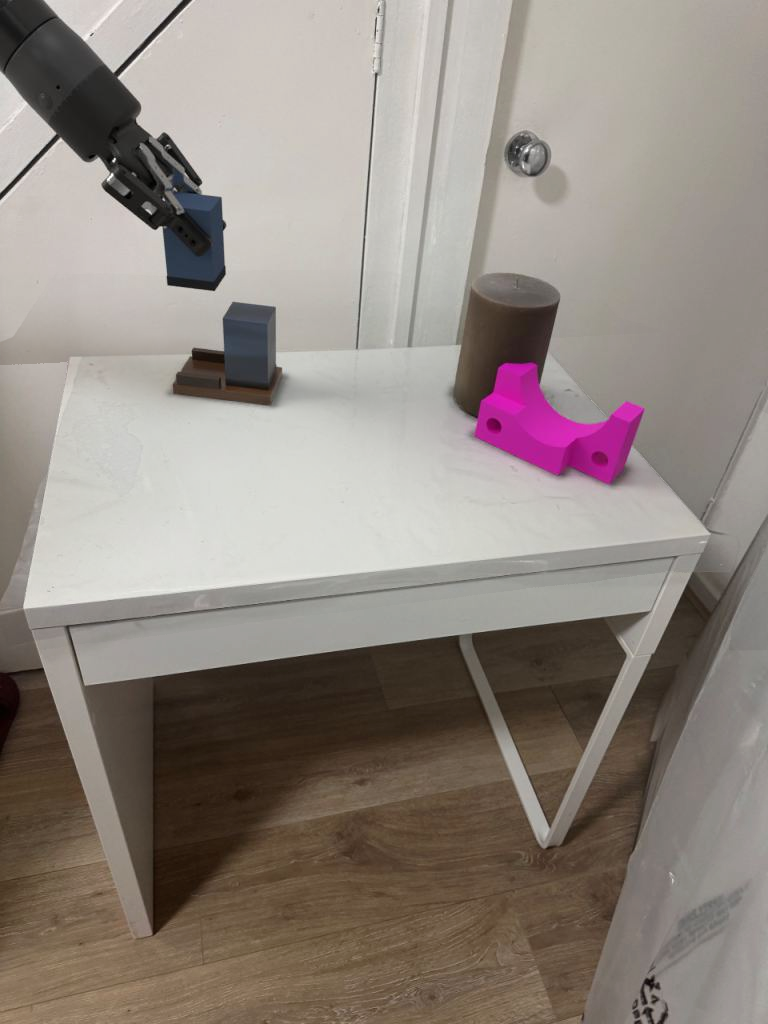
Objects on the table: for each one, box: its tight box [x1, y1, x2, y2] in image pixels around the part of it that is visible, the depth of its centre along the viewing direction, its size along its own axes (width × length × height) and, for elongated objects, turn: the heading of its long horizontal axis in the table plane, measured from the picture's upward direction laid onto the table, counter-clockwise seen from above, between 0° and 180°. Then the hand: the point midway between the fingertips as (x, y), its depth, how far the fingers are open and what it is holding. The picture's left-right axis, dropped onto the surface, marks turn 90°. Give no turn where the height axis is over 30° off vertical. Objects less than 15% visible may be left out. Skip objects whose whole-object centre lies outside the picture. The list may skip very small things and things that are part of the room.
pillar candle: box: [452, 272, 561, 418], centre depth 85 cm, size 10×10×15 cm
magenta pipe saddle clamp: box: [474, 363, 646, 485], centre depth 80 cm, size 15×6×8 cm, turn 52°
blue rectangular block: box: [161, 190, 227, 292], centre depth 76 cm, size 4×5×8 cm
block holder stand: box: [172, 301, 283, 406], centre depth 85 cm, size 7×11×9 cm, turn 85°
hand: (213, 240), depth 76 cm, fingers closed on blue rectangular block, 4 cm apart
